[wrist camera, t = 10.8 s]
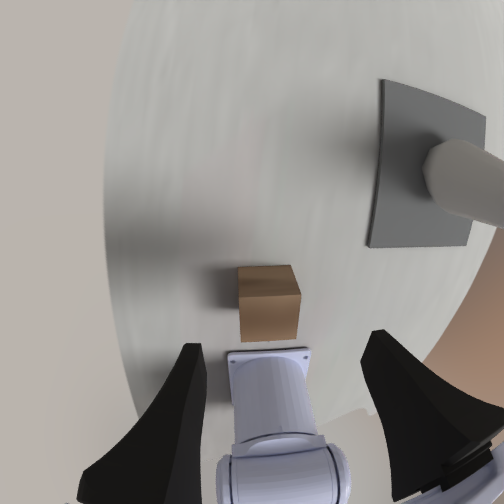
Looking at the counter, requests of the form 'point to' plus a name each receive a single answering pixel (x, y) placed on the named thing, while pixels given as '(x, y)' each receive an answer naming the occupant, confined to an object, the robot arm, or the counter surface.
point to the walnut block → (268, 303)
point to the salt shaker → (466, 181)
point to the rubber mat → (417, 168)
